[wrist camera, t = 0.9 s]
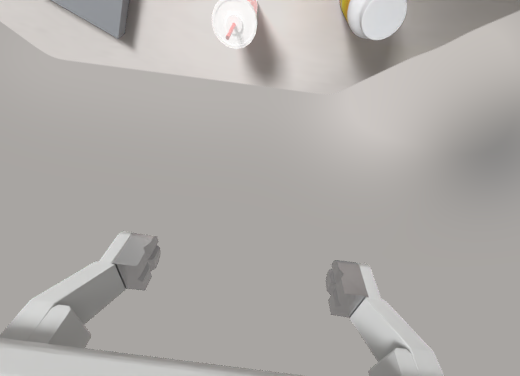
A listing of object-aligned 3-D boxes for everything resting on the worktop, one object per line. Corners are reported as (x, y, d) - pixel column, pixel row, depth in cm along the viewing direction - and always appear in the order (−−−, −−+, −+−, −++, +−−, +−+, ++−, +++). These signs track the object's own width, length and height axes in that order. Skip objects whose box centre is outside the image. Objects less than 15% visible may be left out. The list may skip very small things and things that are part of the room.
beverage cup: (254, 34, 41) (243, 71, 32) (219, 17, 39) (197, 51, 30) (268, -8, 36) (260, 22, 27) (230, -29, 35) (208, -5, 26)
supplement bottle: (342, 25, 38) (355, 58, 30) (334, -25, 34) (347, -2, 26) (388, 5, 36) (416, 35, 28) (386, -52, 31) (418, -36, 23)
